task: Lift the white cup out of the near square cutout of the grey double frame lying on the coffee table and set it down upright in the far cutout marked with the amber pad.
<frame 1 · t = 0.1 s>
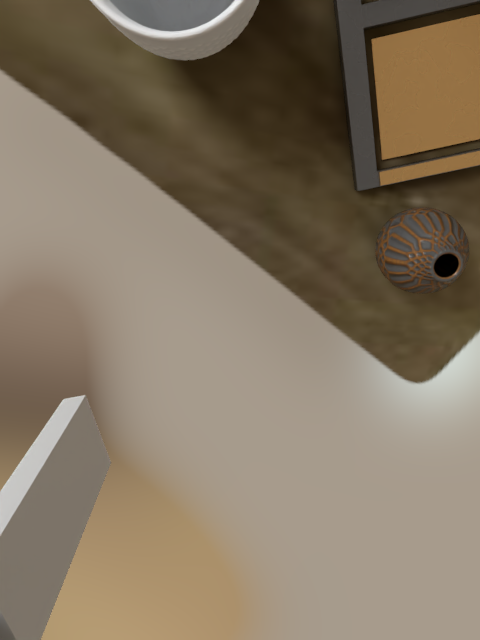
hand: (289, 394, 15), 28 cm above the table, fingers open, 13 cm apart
grey double frame: (427, 3, 35), on the table
vase: (404, 241, 41), on the table
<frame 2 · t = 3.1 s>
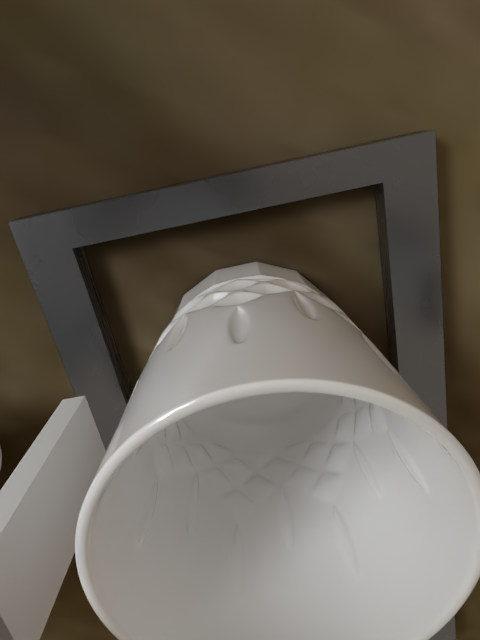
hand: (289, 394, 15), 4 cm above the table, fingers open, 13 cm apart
grey double frame: (279, 465, 20), on the table
white cup: (253, 342, 18), resting in grey double frame
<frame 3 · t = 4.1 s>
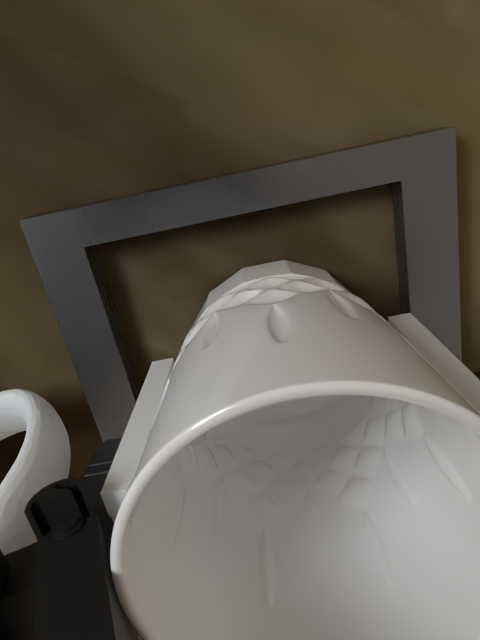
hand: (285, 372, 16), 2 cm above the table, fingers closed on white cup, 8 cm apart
grey double frame: (290, 468, 20), on the table
white cup: (277, 341, 18), resting in grey double frame, touching gripper
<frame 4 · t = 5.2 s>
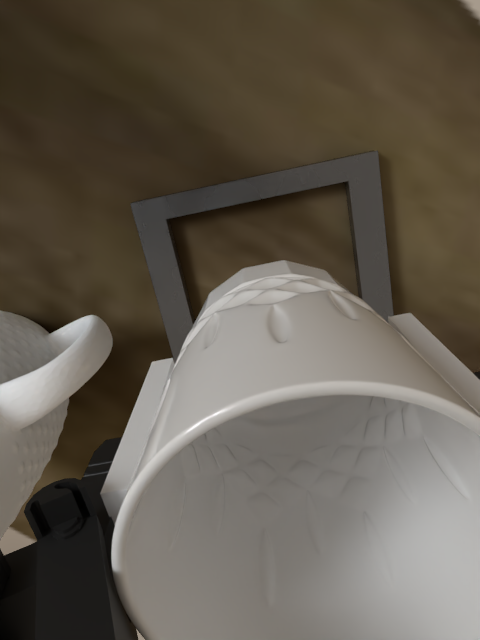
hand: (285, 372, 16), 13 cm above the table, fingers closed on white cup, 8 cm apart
grey double frame: (287, 368, 30), on the table
white cup: (278, 342, 18), point 11 cm above the table, touching gripper
mug: (30, 353, 30), on the table
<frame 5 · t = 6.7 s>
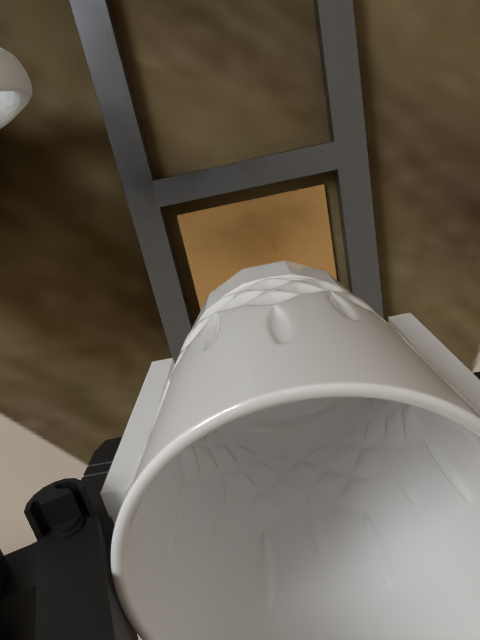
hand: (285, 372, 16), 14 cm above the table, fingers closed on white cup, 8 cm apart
grey double frame: (244, 174, 27), on the table
white cup: (278, 342, 18), point 12 cm above the table, touching gripper
when the fingers open (3 cm above the table, at t = 9.3 s): white cup drops 1 cm, resting on grey double frame.
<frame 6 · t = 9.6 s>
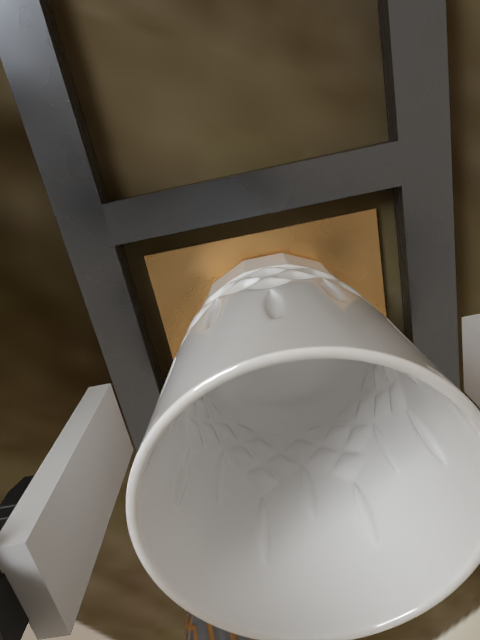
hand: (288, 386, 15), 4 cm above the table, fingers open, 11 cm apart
grey double frame: (250, 192, 17), on the table
white cup: (276, 330, 19), resting on grey double frame
vase: (259, 553, 24), on the table
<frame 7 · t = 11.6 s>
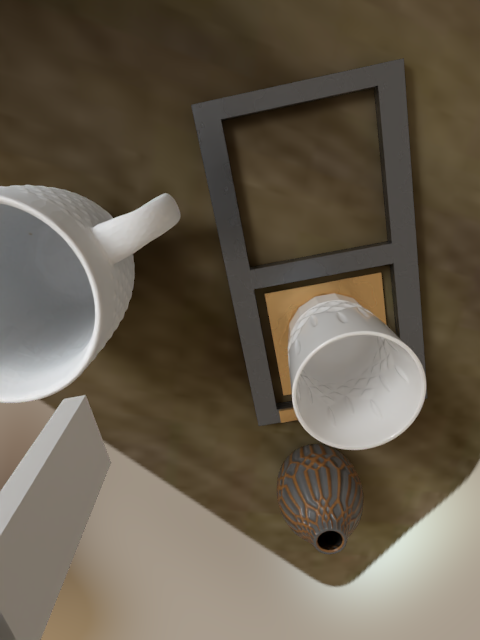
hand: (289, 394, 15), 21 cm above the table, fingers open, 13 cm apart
grey double frame: (319, 263, 35), on the table
white cup: (329, 332, 37), resting on grey double frame
vase: (312, 463, 41), on the table
mug: (94, 248, 35), on the table
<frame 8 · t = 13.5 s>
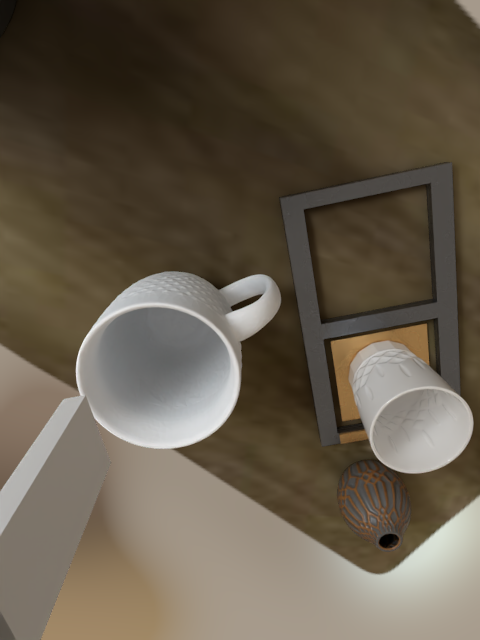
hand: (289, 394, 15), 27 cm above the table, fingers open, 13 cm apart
grey double frame: (376, 317, 42), on the table
white cup: (381, 370, 44), resting on grey double frame
vase: (363, 474, 49), on the table
mug: (191, 307, 42), on the table
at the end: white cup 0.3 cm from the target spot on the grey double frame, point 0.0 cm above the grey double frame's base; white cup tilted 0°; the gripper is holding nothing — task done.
